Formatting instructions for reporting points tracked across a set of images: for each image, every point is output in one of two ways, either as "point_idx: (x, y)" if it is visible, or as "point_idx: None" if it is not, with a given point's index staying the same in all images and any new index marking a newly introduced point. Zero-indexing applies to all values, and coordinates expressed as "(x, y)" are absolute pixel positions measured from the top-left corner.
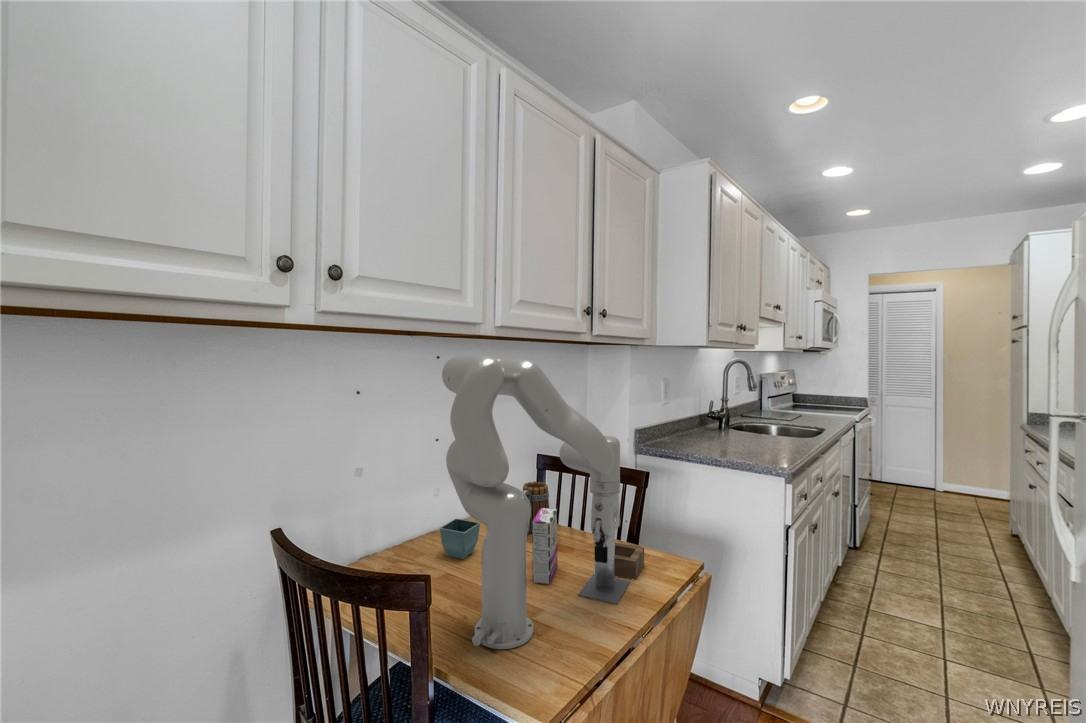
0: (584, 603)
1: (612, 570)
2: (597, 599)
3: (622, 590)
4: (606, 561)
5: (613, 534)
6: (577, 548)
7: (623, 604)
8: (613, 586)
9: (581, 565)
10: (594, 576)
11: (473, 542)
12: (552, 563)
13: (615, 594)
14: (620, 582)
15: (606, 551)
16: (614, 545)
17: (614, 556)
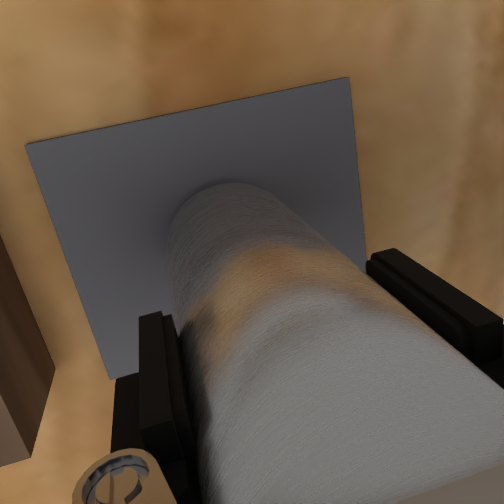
0: (413, 235)
1: (271, 209)
2: (359, 199)
3: (184, 126)
4: (398, 255)
5: (459, 422)
6: None
7: (318, 46)
8: (174, 201)
9: (45, 490)
10: (134, 357)
11: None
12: None
13: (259, 139)
14: (92, 191)
15: (462, 301)
16: (302, 308)
17: (258, 251)
